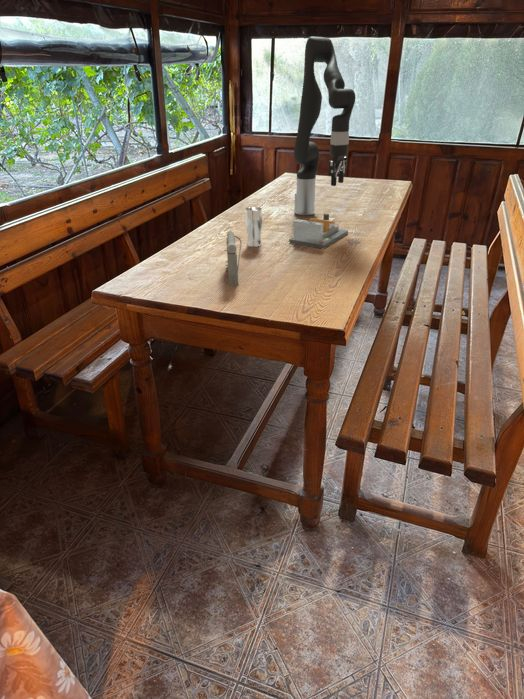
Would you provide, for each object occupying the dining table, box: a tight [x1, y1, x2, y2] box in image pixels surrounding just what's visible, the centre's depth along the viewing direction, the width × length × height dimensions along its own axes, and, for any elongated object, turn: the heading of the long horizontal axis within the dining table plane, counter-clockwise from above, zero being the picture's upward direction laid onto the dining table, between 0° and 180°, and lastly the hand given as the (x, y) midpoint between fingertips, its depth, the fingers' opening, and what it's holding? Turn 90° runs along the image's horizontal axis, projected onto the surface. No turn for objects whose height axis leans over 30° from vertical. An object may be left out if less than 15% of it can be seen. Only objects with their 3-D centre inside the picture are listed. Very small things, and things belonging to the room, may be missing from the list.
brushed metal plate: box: [292, 219, 323, 244], centre depth 202 cm, size 12×3×8 cm, turn 58°
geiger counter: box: [223, 230, 242, 286], centre depth 171 cm, size 14×6×25 cm
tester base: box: [288, 225, 349, 249], centre depth 212 cm, size 16×24×4 cm, turn 148°
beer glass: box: [244, 206, 263, 248], centre depth 202 cm, size 7×7×15 cm
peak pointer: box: [309, 217, 336, 233], centre depth 212 cm, size 12×1×5 cm, turn 58°
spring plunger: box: [318, 213, 336, 230], centre depth 214 cm, size 6×6×7 cm
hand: (337, 184), depth 214 cm, fingers open, 7 cm apart
